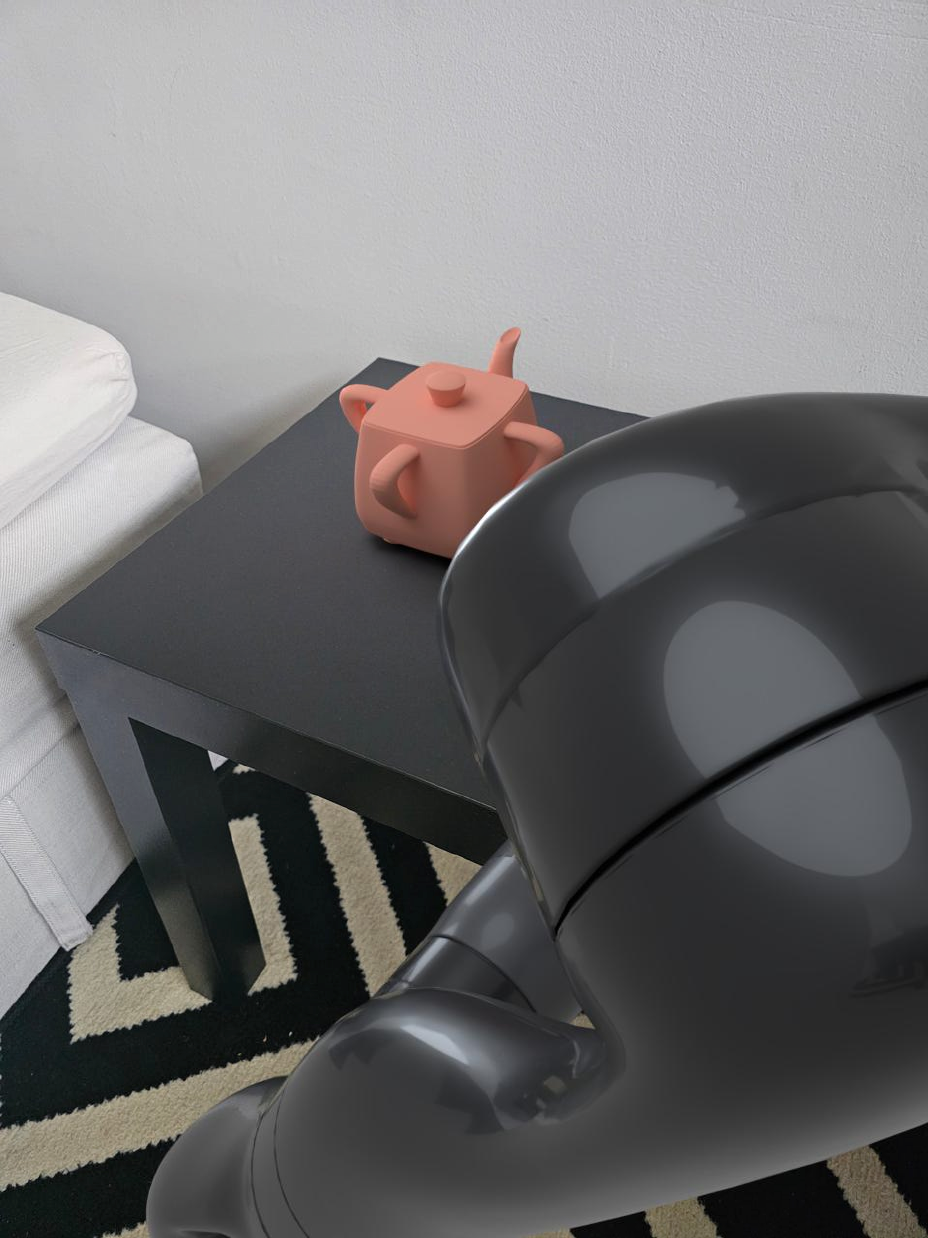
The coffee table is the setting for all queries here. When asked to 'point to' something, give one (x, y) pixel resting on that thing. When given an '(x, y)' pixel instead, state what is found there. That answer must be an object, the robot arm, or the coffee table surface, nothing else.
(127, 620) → the coffee table surface
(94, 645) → the coffee table surface
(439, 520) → the teapot
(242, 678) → the coffee table surface
